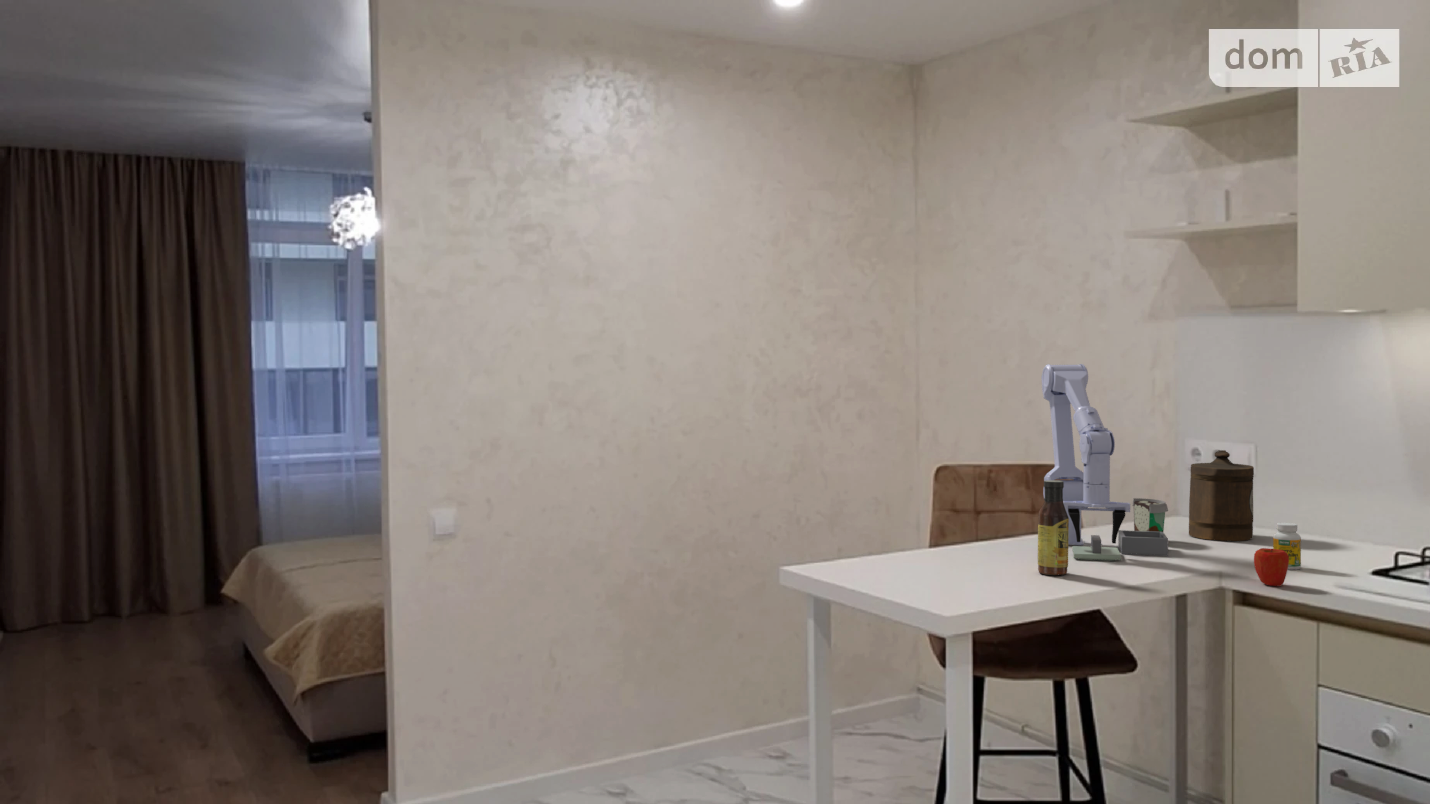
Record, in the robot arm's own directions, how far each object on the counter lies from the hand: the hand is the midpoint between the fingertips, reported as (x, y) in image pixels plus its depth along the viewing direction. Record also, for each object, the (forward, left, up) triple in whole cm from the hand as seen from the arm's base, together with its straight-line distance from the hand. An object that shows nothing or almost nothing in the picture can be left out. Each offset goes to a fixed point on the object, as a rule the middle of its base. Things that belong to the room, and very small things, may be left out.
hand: (1096, 542), depth 255 cm
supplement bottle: (+39, -4, -4) cm, 39 cm away
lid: (0, 0, -4) cm, 4 cm away
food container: (+15, +25, -4) cm, 29 cm away
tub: (+11, +10, -3) cm, 15 cm away
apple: (+32, -24, -4) cm, 40 cm away
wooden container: (+32, +36, -4) cm, 48 cm away
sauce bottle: (-10, -22, -4) cm, 24 cm away
